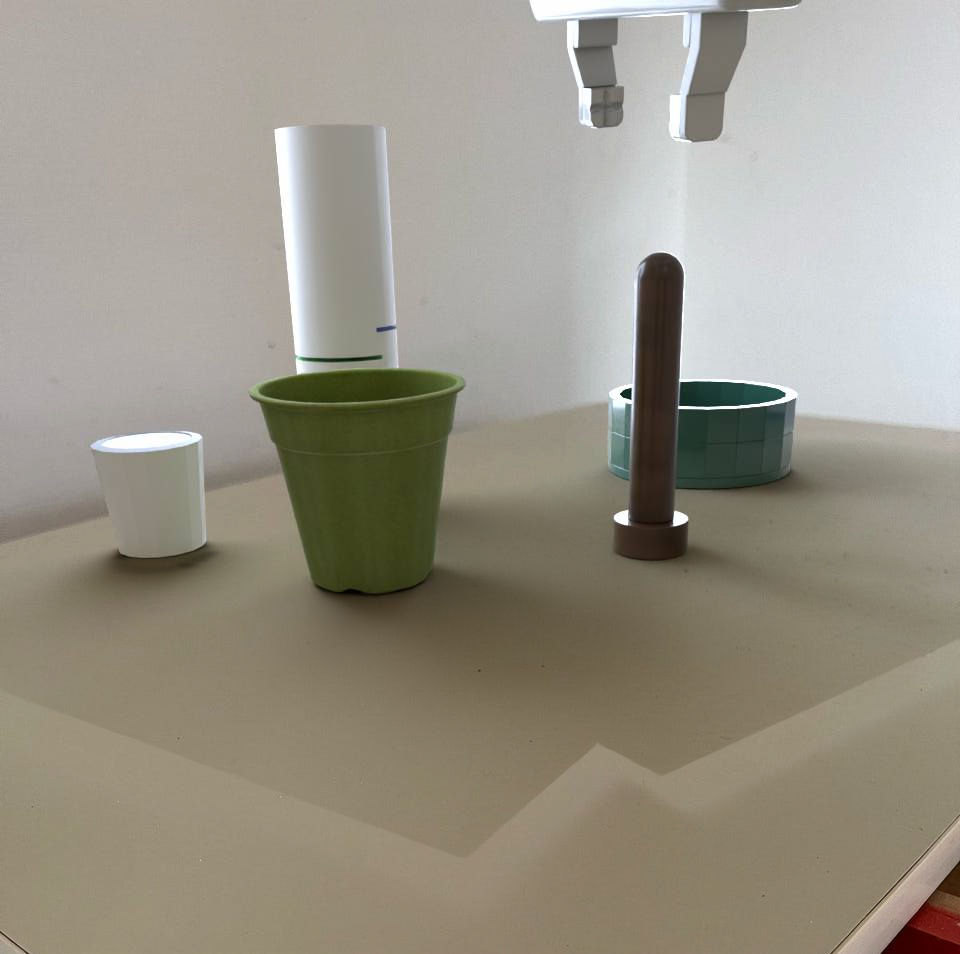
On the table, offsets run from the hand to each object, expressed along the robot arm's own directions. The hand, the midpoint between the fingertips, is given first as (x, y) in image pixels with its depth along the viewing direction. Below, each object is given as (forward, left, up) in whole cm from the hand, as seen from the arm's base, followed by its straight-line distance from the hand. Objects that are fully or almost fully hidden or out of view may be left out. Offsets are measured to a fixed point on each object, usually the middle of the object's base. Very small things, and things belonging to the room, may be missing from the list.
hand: (644, 133), depth 48 cm
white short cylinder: (+16, -27, -23) cm, 39 cm away
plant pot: (+9, -12, -23) cm, 28 cm away
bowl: (-26, -18, -23) cm, 39 cm away
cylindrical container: (+1, -27, -23) cm, 36 cm away
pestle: (-7, -5, -23) cm, 24 cm away
